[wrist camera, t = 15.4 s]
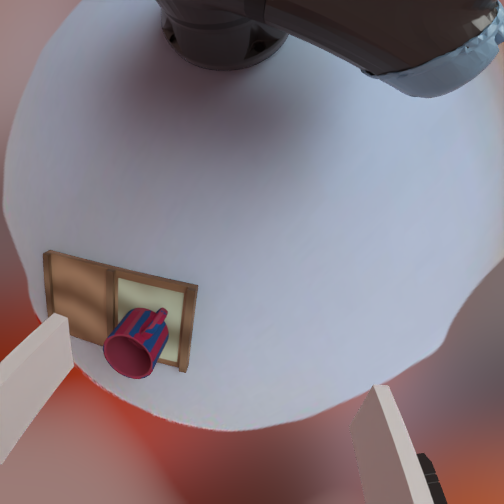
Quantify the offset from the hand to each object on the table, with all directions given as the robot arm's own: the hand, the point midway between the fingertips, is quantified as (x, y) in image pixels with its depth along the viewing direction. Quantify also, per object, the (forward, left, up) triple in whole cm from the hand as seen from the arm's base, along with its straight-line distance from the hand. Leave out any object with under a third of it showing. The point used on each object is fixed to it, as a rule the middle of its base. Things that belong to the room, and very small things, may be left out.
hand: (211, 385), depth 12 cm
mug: (+14, -10, -25) cm, 31 cm away
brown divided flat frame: (+14, -16, -26) cm, 34 cm away
